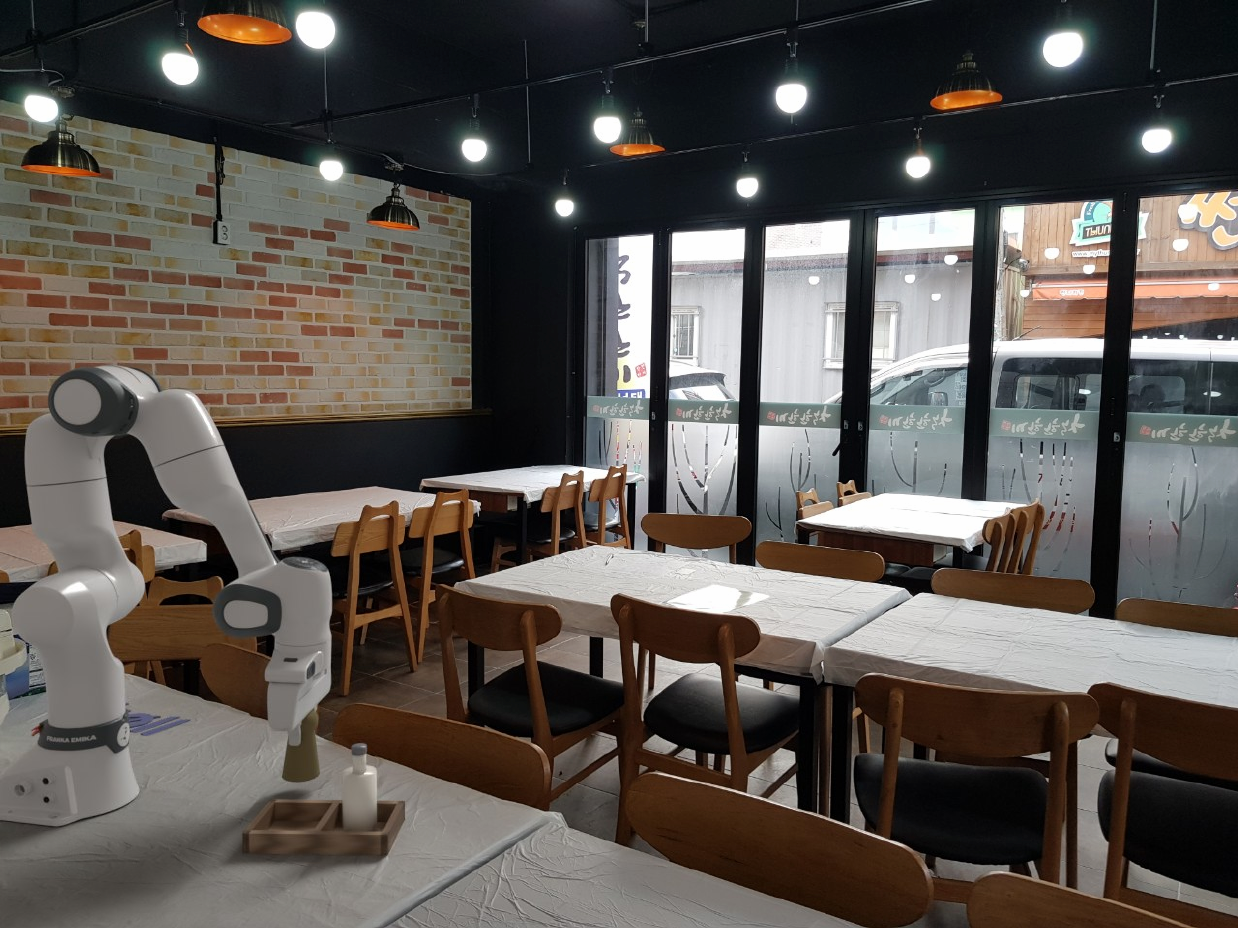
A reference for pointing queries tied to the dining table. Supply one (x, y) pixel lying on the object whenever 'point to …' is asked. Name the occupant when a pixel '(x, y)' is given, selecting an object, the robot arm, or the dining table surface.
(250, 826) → the condiment caddy
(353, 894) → the dining table surface
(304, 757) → the olive green pepper mill
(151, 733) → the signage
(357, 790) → the cruet bottle
